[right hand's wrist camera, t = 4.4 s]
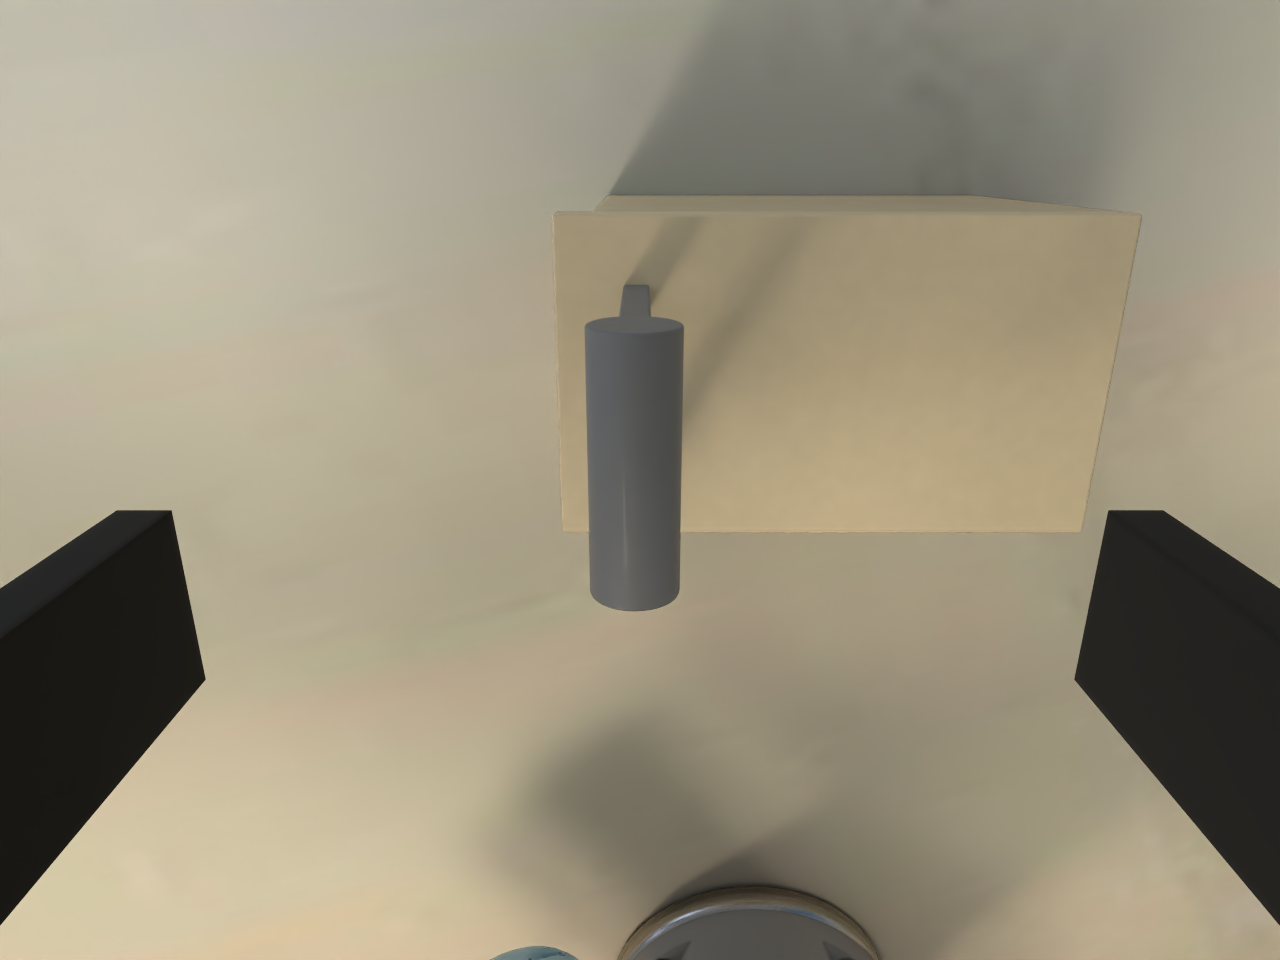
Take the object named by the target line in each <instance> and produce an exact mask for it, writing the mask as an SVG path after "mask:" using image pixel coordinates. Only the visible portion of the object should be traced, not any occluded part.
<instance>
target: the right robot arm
mask: <svg viewBox="0 0 1280 960" xmlns="http://www.w3.org/2000/svg"><path fill="white" fill-rule="evenodd" d="M205 680H206V679H205V674H204V669H203V664H202V659H201V654H200V649H199V644H198V639H197V634H196V630H195V625H194V620H193V615H192V610H191V605H190V600H189V595H188V590H187V585H186V580H185V575H184V570H183V565H182V560H181V555H180V550H179V545H178V540H177V535H176V530H175V525H174V520H173V515H172V510H117V511H115V512H114V513H112V514H111V515H109V516H108V517H106V518H105V519H103V520H102V521H100V522H99V523H97V524H96V525H94V526H93V527H91V528H90V529H88V530H87V531H86V532H84V533H83V534H81V535H80V536H78V537H77V538H75V539H74V540H72V541H71V542H69V543H68V544H66V545H65V546H63V547H62V548H60V549H59V550H57V551H56V552H54V553H53V554H51V555H50V556H48V557H47V558H45V559H44V560H42V561H41V562H39V563H38V564H36V565H35V566H33V567H32V568H30V569H29V570H27V571H26V572H24V573H23V574H21V575H20V576H18V577H17V578H15V579H14V580H13V581H11V582H10V583H8V584H7V585H5V586H4V587H2V588H1V589H0V925H1V924H2V923H3V921H4V920H5V919H6V918H7V917H8V915H9V914H10V913H11V912H12V911H13V909H14V908H15V907H16V906H17V905H18V904H19V902H20V901H21V900H22V899H23V898H24V896H25V895H26V894H27V893H28V892H29V890H30V889H31V888H32V887H33V886H34V884H35V883H36V882H37V881H38V880H39V878H40V877H41V876H42V875H43V874H44V872H45V871H46V870H47V869H48V868H49V866H50V865H51V864H52V863H53V862H54V860H55V859H56V858H57V857H58V856H59V854H60V853H61V852H62V851H63V850H64V848H65V847H66V846H67V845H68V844H69V842H70V841H71V840H72V839H73V838H74V836H75V835H76V834H77V833H78V832H79V830H80V829H81V828H82V827H83V826H84V824H85V823H86V822H87V821H88V820H89V818H90V817H91V816H92V815H93V814H94V812H95V811H96V810H97V809H98V808H99V807H100V805H101V804H102V803H103V802H104V801H105V799H106V798H107V797H108V796H109V795H110V793H111V792H112V791H113V790H114V789H115V787H116V786H117V785H118V784H119V783H120V781H121V780H122V779H123V778H124V777H125V775H126V774H127V773H128V772H129V771H130V769H131V768H132V767H133V766H134V765H135V763H136V762H137V761H138V760H139V759H140V757H141V756H142V755H143V754H144V753H145V751H146V750H147V749H148V748H149V747H150V745H151V744H152V743H153V742H154V741H155V739H156V738H157V737H158V736H159V735H160V733H161V732H162V731H163V730H164V729H165V727H166V726H167V725H168V724H169V723H170V721H171V720H172V719H173V718H174V717H175V715H176V714H177V713H178V712H179V711H180V710H181V708H182V707H183V706H184V705H185V704H186V702H187V701H188V700H189V699H190V698H191V696H192V695H193V694H194V693H195V692H196V690H197V689H198V688H199V687H200V686H201V684H202V683H203V682H204V681H205ZM1074 680H1075V681H1076V682H1077V683H1078V684H1079V686H1080V687H1081V688H1082V689H1083V690H1084V692H1085V693H1086V694H1087V695H1088V696H1089V698H1090V699H1091V700H1092V701H1093V702H1094V704H1095V705H1096V706H1097V707H1098V708H1099V710H1100V711H1101V712H1102V713H1103V714H1104V715H1105V717H1106V718H1107V719H1108V720H1109V721H1110V723H1111V724H1112V725H1113V726H1114V727H1115V729H1116V730H1117V731H1118V732H1119V733H1120V735H1121V736H1122V737H1123V738H1124V739H1125V741H1126V742H1127V743H1128V744H1129V745H1130V747H1131V748H1132V749H1133V750H1134V751H1135V753H1136V754H1137V755H1138V756H1139V757H1140V759H1141V760H1142V761H1143V762H1144V763H1145V765H1146V766H1147V767H1148V768H1149V769H1150V771H1151V772H1152V773H1153V774H1154V775H1155V777H1156V778H1157V779H1158V780H1159V781H1160V783H1161V784H1162V785H1163V786H1164V787H1165V789H1166V790H1167V791H1168V792H1169V793H1170V795H1171V796H1172V797H1173V798H1174V799H1175V801H1176V802H1177V803H1178V804H1179V805H1180V807H1181V808H1182V809H1183V810H1184V811H1185V812H1186V814H1187V815H1188V816H1189V817H1190V818H1191V820H1192V821H1193V822H1194V823H1195V824H1196V826H1197V827H1198V828H1199V829H1200V830H1201V832H1202V833H1203V834H1204V835H1205V836H1206V838H1207V839H1208V840H1209V841H1210V842H1211V844H1212V845H1213V846H1214V847H1215V848H1216V850H1217V851H1218V852H1219V853H1220V854H1221V856H1222V857H1223V858H1224V859H1225V860H1226V862H1227V863H1228V864H1229V865H1230V866H1231V868H1232V869H1233V870H1234V871H1235V872H1236V874H1237V875H1238V876H1239V877H1240V878H1241V880H1242V881H1243V882H1244V883H1245V884H1246V886H1247V887H1248V888H1249V889H1250V890H1251V892H1252V893H1253V894H1254V895H1255V896H1256V898H1257V899H1258V900H1259V901H1260V902H1261V904H1262V905H1263V906H1264V907H1265V908H1266V909H1267V911H1268V912H1269V913H1270V914H1271V915H1272V917H1273V918H1274V919H1275V920H1276V921H1277V923H1278V924H1279V925H1280V589H1279V588H1278V587H1276V586H1275V585H1273V584H1272V583H1270V582H1269V581H1267V580H1266V579H1265V578H1263V577H1262V576H1260V575H1259V574H1257V573H1256V572H1254V571H1253V570H1251V569H1250V568H1248V567H1247V566H1245V565H1244V564H1242V563H1241V562H1239V561H1238V560H1236V559H1235V558H1233V557H1232V556H1230V555H1229V554H1227V553H1226V552H1224V551H1223V550H1221V549H1220V548H1218V547H1217V546H1215V545H1214V544H1212V543H1211V542H1209V541H1208V540H1206V539H1205V538H1203V537H1202V536H1200V535H1199V534H1197V533H1196V532H1194V531H1193V530H1192V529H1190V528H1189V527H1187V526H1186V525H1184V524H1183V523H1181V522H1180V521H1178V520H1177V519H1175V518H1174V517H1172V516H1171V515H1169V514H1168V513H1166V512H1165V511H1163V510H1108V515H1107V520H1106V525H1105V530H1104V535H1103V540H1102V545H1101V550H1100V555H1099V560H1098V565H1097V570H1096V575H1095V580H1094V585H1093V590H1092V595H1091V600H1090V605H1089V610H1088V615H1087V620H1086V625H1085V629H1084V634H1083V639H1082V644H1081V649H1080V654H1079V659H1078V664H1077V669H1076V674H1075V679H1074Z"/></svg>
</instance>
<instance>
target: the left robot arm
mask: <svg viewBox="0 0 1280 960" xmlns="http://www.w3.org/2000/svg"><path fill="white" fill-rule="evenodd" d="M490 960H578V959H577V958H576V957H574V956H572V955H571V954H569V953H567V952H564V951H561V950H559V949H556V948H551V947H545V946H532V947H525V948H520V949H516V950H512V951H509V952H506V953H503V954H501V955H498V956H496V957H494V958H492V959H490ZM617 960H878V957H877V954H876V952H875V950H874V948H873V946H872V944H871V942H870V941H869V939H868V938H867V936H866V935H865V933H864V932H863V931H862V930H861V929H860V928H859V926H858V925H856V924H855V923H854V922H853V921H852V920H851V919H850V918H849V917H847V916H846V915H845V914H843V913H842V912H841V911H839V910H837V909H836V908H834V907H832V906H831V905H829V904H827V903H825V902H823V901H821V900H819V899H816V898H813V897H811V896H808V895H805V894H802V893H798V892H794V891H790V890H785V889H780V888H771V887H755V886H750V887H733V888H724V889H719V890H714V891H709V892H706V893H702V894H698V895H695V896H693V897H690V898H687V899H684V900H682V901H680V902H678V903H676V904H673V905H671V906H670V907H668V908H666V909H664V910H663V911H661V912H659V913H658V914H656V915H655V916H654V917H652V918H651V919H649V920H648V921H647V922H646V923H645V924H644V925H642V926H641V927H640V928H639V929H638V930H637V931H636V932H635V933H634V934H633V936H632V937H631V938H630V939H629V941H628V942H627V943H626V945H625V946H624V948H623V950H622V951H621V953H620V955H619V957H618V959H617Z"/></svg>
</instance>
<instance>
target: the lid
mask: <svg viewBox="0 0 1280 960" xmlns="http://www.w3.org/2000/svg"><path fill="white" fill-rule="evenodd" d="M551 219H552V248H553V278H554V308H555V337H556V367H557V396H558V426H559V455H560V485H561V515H562V530H563V532H589V554H590V591H591V594H592V596H593V598H594V599H595V600H596V601H597V602H599V603H600V604H602V605H604V606H607V607H610V608H613V609H617V610H623V611H646V610H652V609H656V608H660V607H663V606H665V605H667V604H669V603H671V602H672V601H673V600H674V599H675V598H676V597H677V595H678V593H679V587H680V532H759V533H1080V532H1081V531H1082V527H1083V522H1084V517H1085V512H1086V507H1087V501H1088V496H1089V491H1090V486H1091V481H1092V475H1093V470H1094V465H1095V460H1096V454H1097V449H1098V444H1099V439H1100V434H1101V428H1102V423H1103V418H1104V413H1105V408H1106V402H1107V397H1108V392H1109V387H1110V382H1111V376H1112V371H1113V366H1114V361H1115V355H1116V350H1117V345H1118V340H1119V335H1120V329H1121V324H1122V319H1123V314H1124V309H1125V303H1126V298H1127V293H1128V288H1129V283H1130V277H1131V272H1132V267H1133V262H1134V256H1135V251H1136V246H1137V241H1138V236H1139V230H1140V225H1141V220H1142V215H1141V214H1138V213H1129V212H1120V211H558V212H556V213H554V214H553V215H552V217H551Z"/></svg>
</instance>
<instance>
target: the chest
mask: <svg viewBox="0 0 1280 960" xmlns="http://www.w3.org/2000/svg"><path fill="white" fill-rule="evenodd" d="M593 211H1111V210H1102V209H1093V208H1084V207H1075V206H1066V205H1056V204H1047V203H1038V202H1029V201H1020V200H1010V199H1001V198H992V197H983V196H973V195H609V196H607V197H606V198H605V199H604V200H603V201H602V202H601V203H600V204H599V205H598V206H597V207H596V208H595V209H594V210H593Z"/></svg>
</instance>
